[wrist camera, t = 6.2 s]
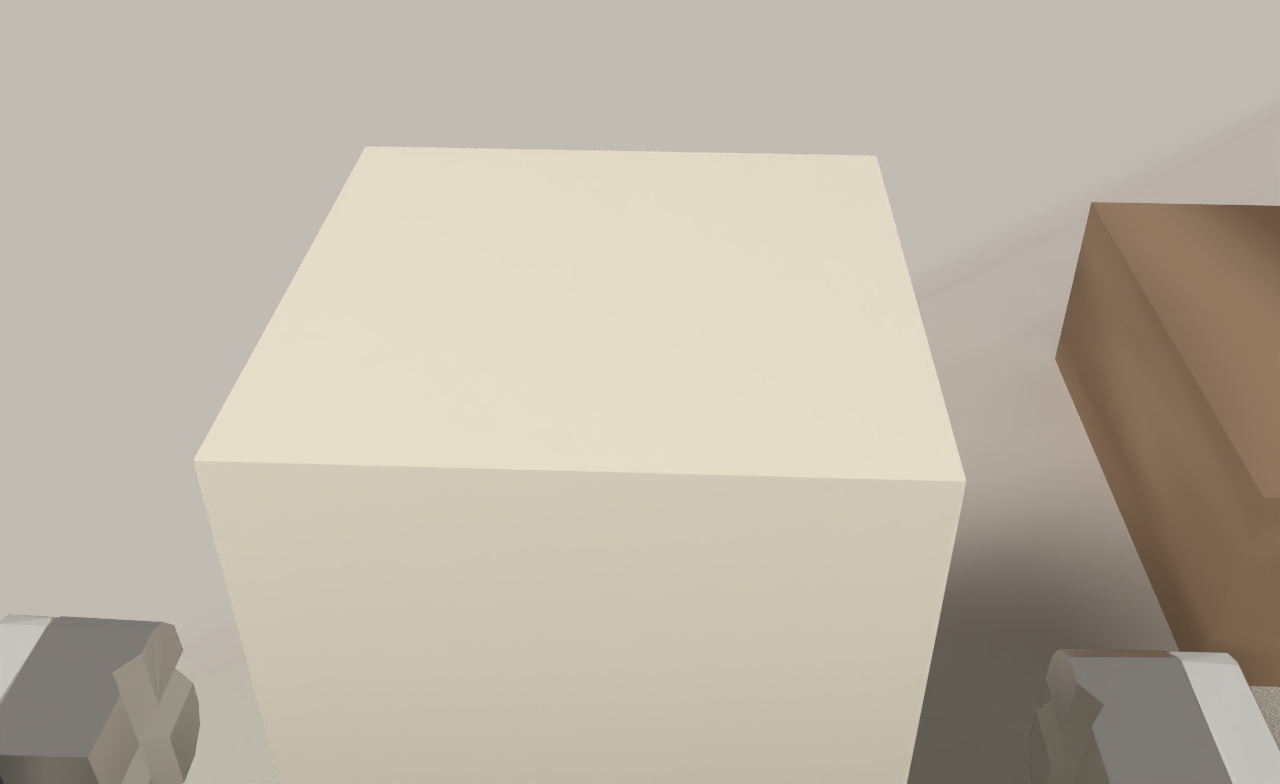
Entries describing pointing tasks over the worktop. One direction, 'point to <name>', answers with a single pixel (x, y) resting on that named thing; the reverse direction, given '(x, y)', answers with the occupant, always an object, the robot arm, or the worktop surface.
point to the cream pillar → (591, 476)
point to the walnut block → (1188, 409)
